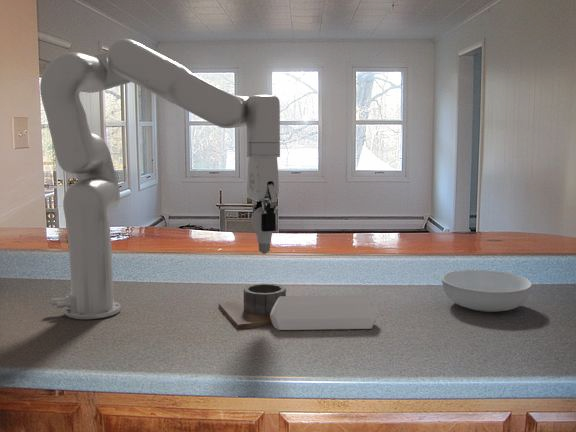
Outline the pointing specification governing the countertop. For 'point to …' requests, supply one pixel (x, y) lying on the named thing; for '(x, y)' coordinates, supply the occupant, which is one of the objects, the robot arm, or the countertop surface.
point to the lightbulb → (262, 237)
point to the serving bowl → (486, 289)
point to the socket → (253, 306)
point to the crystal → (323, 312)
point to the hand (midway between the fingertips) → (264, 228)
